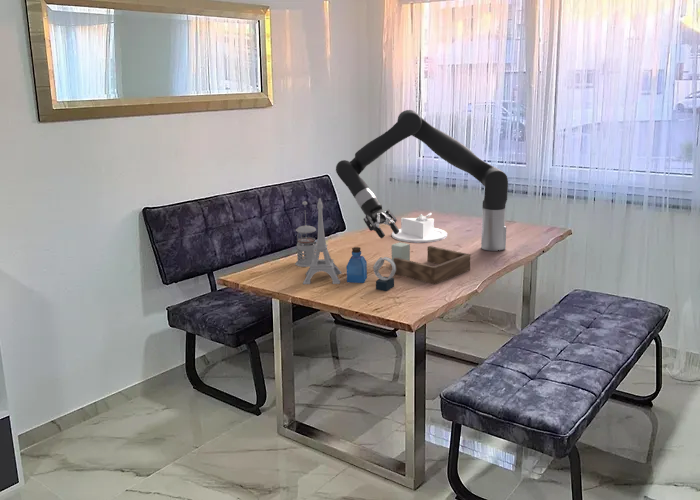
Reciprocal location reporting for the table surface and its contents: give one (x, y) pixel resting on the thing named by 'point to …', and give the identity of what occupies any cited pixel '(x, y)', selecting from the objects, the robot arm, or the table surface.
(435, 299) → the table surface
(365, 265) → the perfume bottle
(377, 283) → the watch
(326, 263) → the eiffel tower
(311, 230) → the french press
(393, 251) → the sage block
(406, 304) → the table surface
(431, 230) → the dish
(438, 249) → the walnut u-shaped frame
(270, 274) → the table surface
